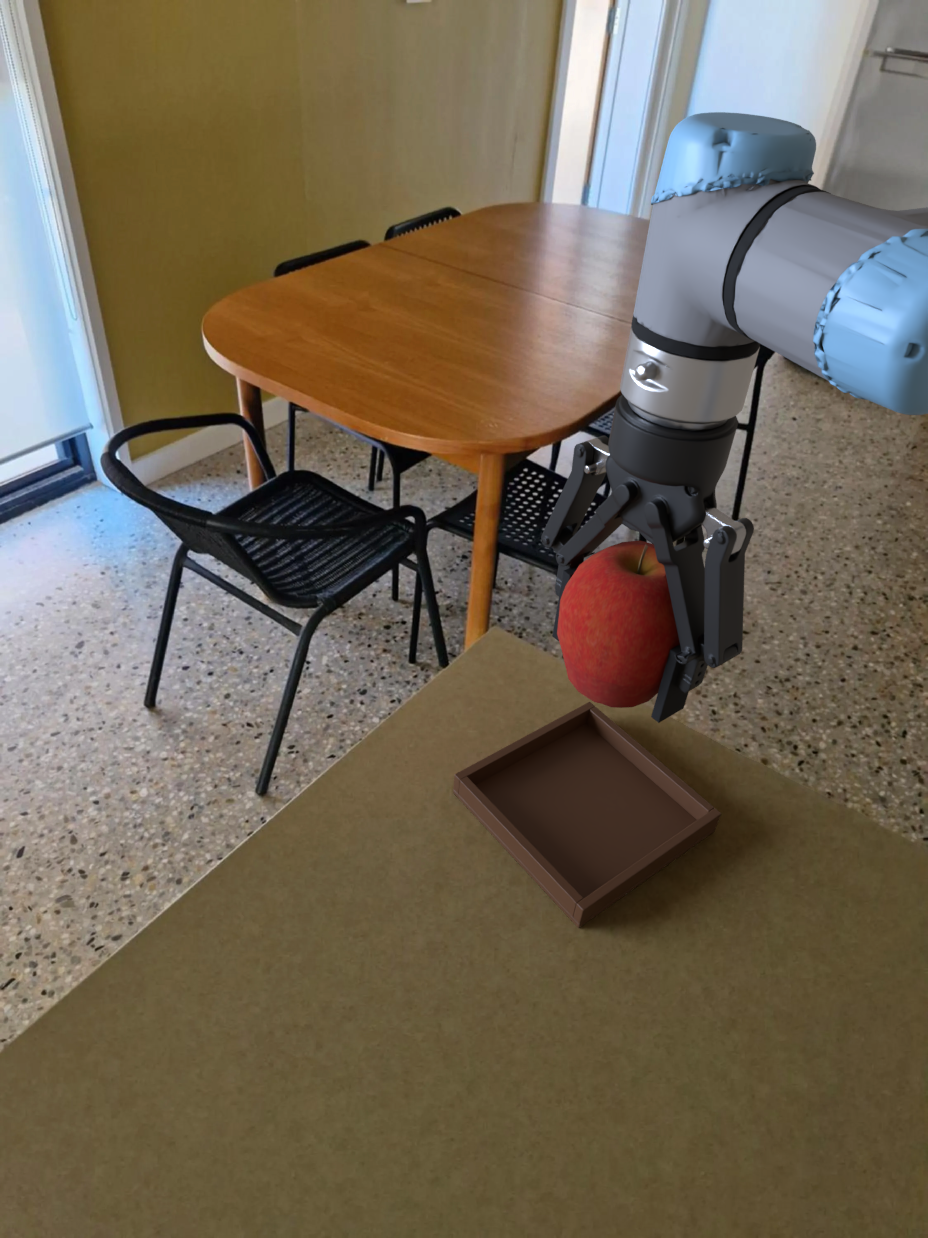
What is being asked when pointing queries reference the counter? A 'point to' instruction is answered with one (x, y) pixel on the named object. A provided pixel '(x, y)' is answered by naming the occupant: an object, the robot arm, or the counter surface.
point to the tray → (585, 810)
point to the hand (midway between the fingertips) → (615, 670)
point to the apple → (617, 625)
